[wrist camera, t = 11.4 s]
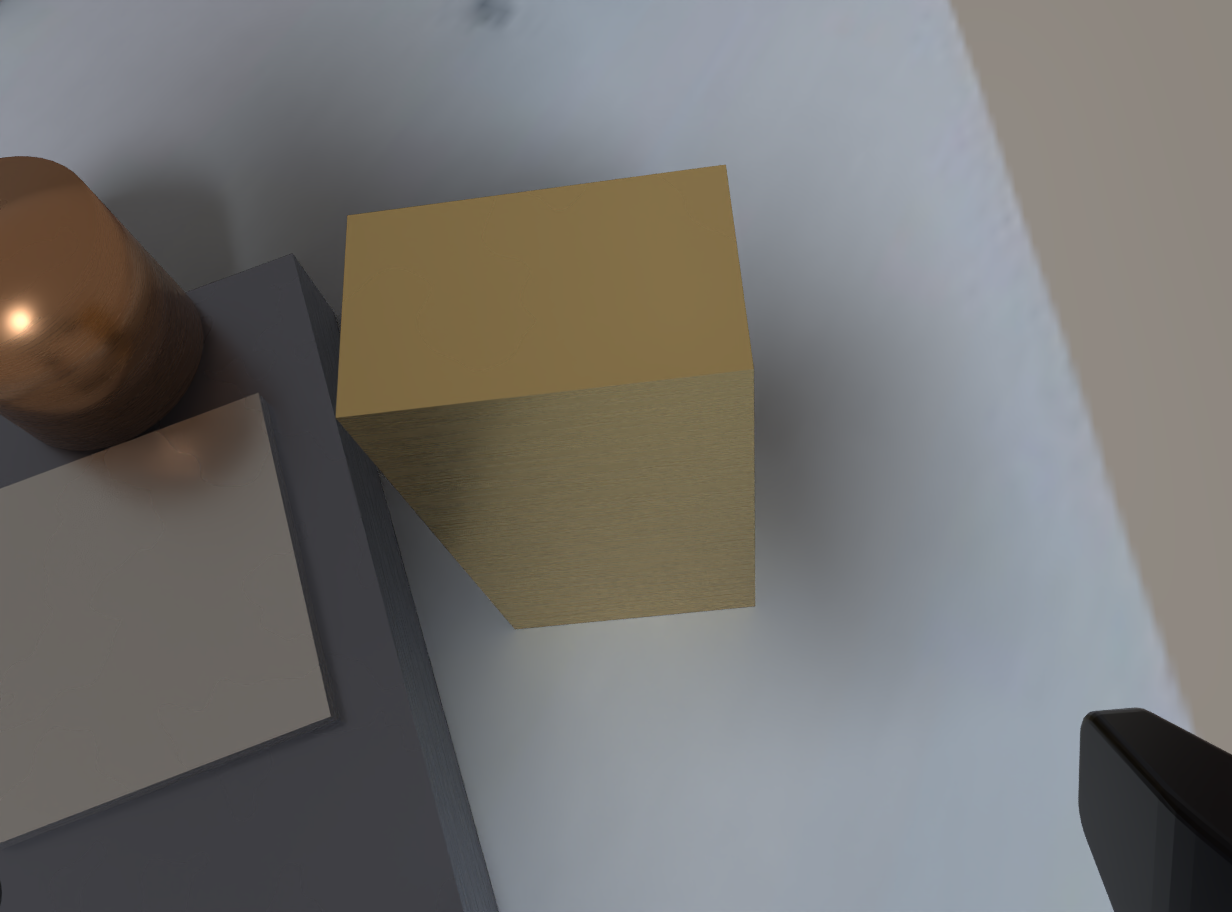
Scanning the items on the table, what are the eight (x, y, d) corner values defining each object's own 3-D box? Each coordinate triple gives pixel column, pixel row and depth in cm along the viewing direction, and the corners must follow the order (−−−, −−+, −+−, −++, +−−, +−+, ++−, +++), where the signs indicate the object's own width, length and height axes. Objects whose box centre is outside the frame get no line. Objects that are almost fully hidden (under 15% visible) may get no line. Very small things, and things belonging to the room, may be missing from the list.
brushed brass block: (754, 606, 21) (754, 369, 12) (514, 629, 21) (335, 417, 12) (738, 472, 22) (725, 164, 13) (511, 496, 22) (347, 216, 13)
